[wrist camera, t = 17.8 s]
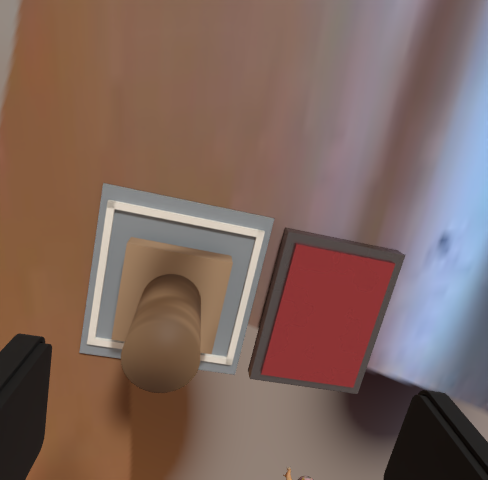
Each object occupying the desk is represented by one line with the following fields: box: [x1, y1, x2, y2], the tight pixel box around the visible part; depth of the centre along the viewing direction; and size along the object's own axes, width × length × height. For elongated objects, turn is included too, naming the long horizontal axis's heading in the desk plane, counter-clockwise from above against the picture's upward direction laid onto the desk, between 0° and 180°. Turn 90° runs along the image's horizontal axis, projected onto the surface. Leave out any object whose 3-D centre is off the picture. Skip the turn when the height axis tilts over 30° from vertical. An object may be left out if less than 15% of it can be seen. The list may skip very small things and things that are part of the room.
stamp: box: [111, 237, 233, 393], centre depth 25 cm, size 7×7×9 cm
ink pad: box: [248, 228, 405, 394], centre depth 31 cm, size 9×12×2 cm
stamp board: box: [79, 183, 274, 375], centre depth 29 cm, size 12×13×1 cm
